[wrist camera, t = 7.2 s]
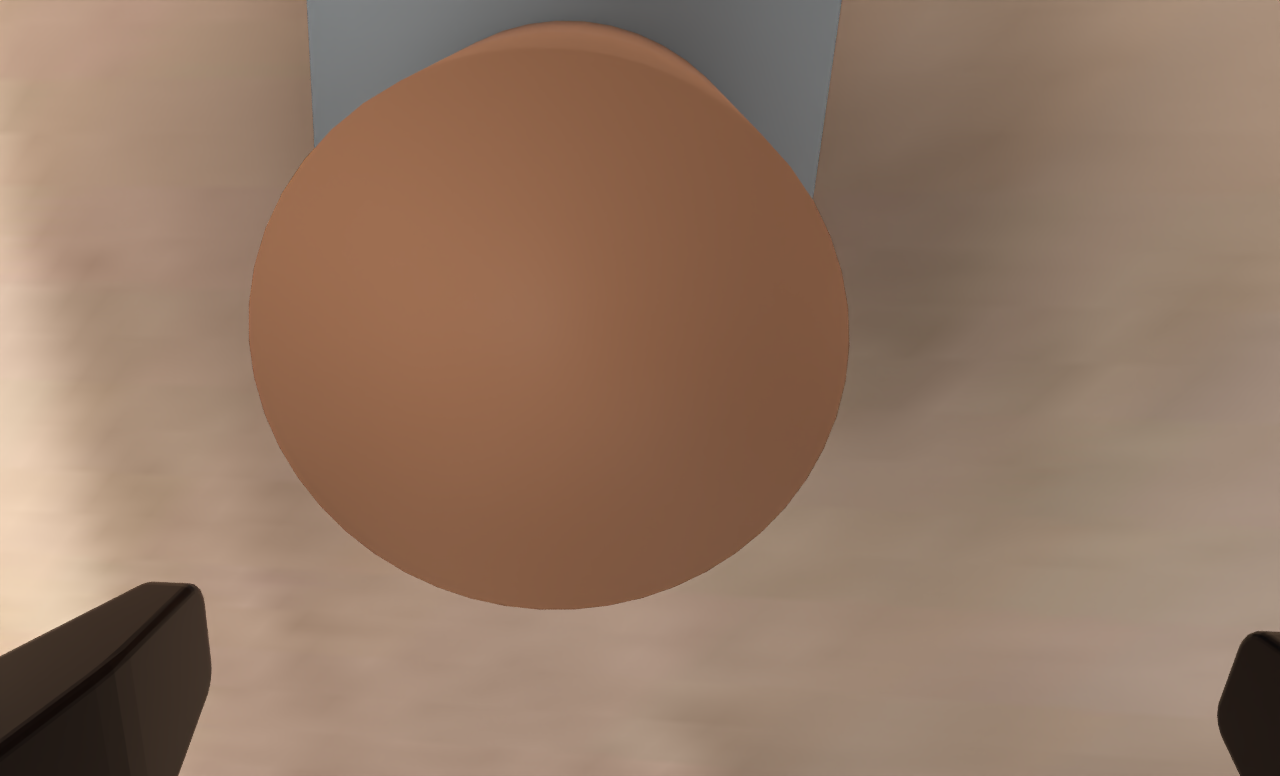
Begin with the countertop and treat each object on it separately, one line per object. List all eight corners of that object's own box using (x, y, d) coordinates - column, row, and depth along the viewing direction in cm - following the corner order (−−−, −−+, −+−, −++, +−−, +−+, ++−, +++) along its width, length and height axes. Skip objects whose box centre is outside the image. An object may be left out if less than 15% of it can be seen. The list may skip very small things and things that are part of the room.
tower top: (739, 358, 17) (775, 464, 13) (391, 337, 17) (329, 438, 13) (785, -13, 15) (842, -9, 11) (383, -46, 14) (304, -52, 11)
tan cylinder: (740, 417, 13) (801, 623, 9) (378, 394, 13) (267, 594, 9) (792, 39, 11) (900, 77, 7) (369, 1, 11) (225, 17, 7)
